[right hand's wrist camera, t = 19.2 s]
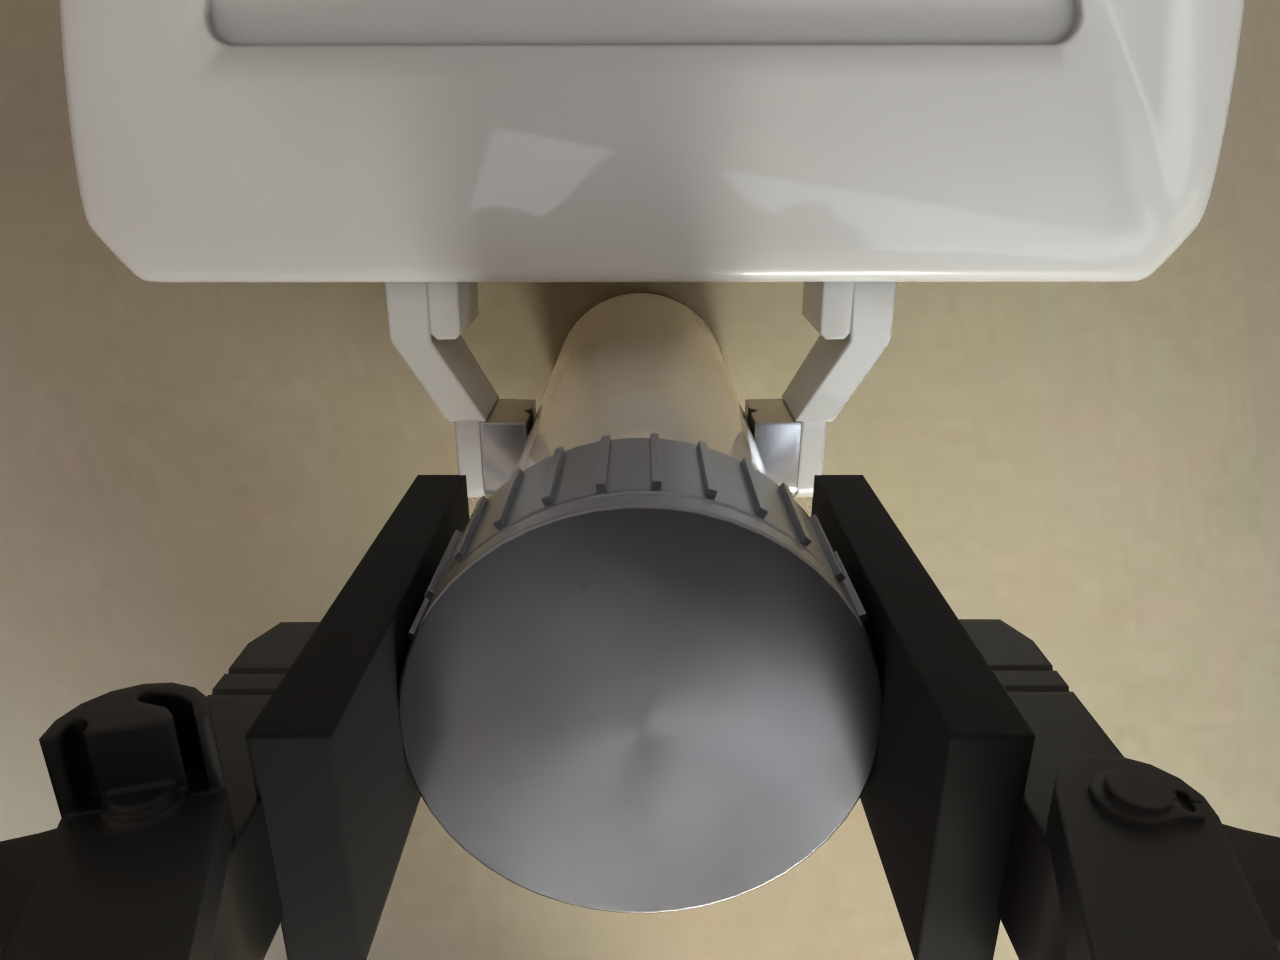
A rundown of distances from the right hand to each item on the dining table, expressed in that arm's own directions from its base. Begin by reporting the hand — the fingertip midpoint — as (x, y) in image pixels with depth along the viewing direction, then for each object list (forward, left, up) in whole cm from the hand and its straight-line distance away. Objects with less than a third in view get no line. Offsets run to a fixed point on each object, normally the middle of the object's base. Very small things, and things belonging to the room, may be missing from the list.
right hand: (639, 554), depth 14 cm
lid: (0, 0, +4) cm, 4 cm away
